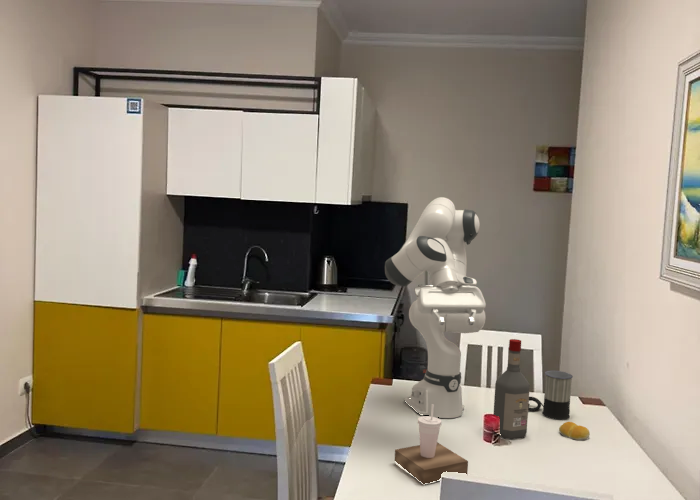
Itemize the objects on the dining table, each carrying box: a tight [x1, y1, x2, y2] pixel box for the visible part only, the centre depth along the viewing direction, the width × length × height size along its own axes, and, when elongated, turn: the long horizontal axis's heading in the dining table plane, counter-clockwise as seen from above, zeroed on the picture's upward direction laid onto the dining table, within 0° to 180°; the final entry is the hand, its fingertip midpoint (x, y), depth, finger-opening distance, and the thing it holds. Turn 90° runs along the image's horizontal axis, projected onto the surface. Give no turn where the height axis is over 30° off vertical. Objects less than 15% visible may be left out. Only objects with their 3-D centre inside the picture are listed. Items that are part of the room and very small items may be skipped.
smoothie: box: [417, 404, 442, 458], centre depth 167 cm, size 6×6×14 cm
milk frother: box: [528, 370, 574, 421], centre depth 218 cm, size 14×16×15 cm
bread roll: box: [558, 421, 590, 441], centre depth 198 cm, size 8×9×4 cm
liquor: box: [493, 338, 531, 440], centre depth 196 cm, size 9×9×30 cm
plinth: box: [394, 441, 469, 485], centre depth 168 cm, size 14×14×4 cm
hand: (456, 324), depth 179 cm, fingers open, 8 cm apart
